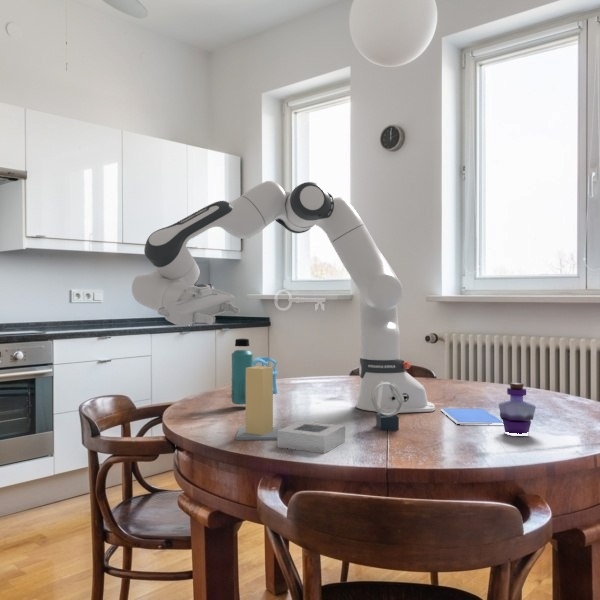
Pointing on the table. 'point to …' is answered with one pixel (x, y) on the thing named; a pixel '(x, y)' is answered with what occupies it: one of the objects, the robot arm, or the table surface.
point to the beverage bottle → (240, 371)
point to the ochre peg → (259, 400)
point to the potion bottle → (516, 410)
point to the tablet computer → (471, 416)
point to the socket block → (311, 436)
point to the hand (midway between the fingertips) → (226, 316)
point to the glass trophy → (388, 419)
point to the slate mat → (256, 435)
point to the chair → (264, 362)
